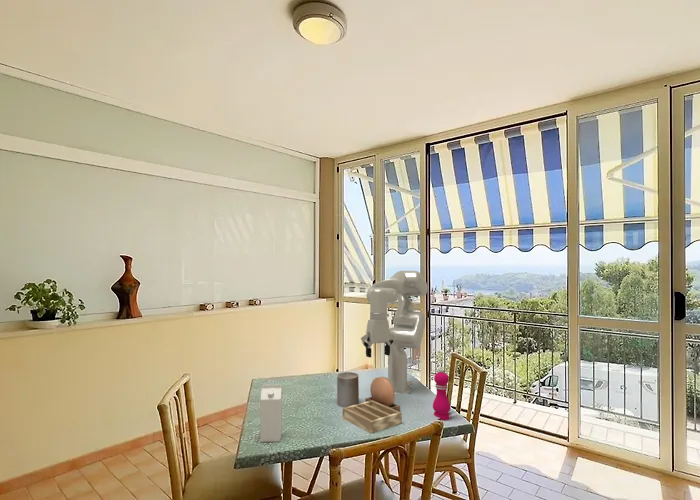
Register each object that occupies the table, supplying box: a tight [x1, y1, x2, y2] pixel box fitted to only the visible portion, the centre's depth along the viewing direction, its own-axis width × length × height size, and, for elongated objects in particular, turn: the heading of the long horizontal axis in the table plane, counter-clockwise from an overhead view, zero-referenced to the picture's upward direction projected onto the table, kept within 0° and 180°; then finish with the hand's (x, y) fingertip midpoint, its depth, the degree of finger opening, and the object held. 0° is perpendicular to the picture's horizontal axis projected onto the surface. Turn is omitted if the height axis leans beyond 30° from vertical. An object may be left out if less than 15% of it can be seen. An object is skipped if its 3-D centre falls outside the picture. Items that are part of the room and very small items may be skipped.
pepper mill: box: [432, 368, 451, 421], centre depth 166 cm, size 7×7×20 cm
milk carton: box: [259, 384, 283, 443], centre depth 146 cm, size 7×7×19 cm
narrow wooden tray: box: [365, 396, 401, 412], centre depth 173 cm, size 6×16×3 cm, turn 38°
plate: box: [370, 376, 396, 407], centre depth 174 cm, size 2×13×13 cm, turn 38°
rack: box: [342, 400, 403, 434], centre depth 159 cm, size 16×18×5 cm
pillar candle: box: [336, 371, 360, 408], centre depth 178 cm, size 10×10×15 cm
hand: (378, 356), depth 175 cm, fingers open, 9 cm apart
